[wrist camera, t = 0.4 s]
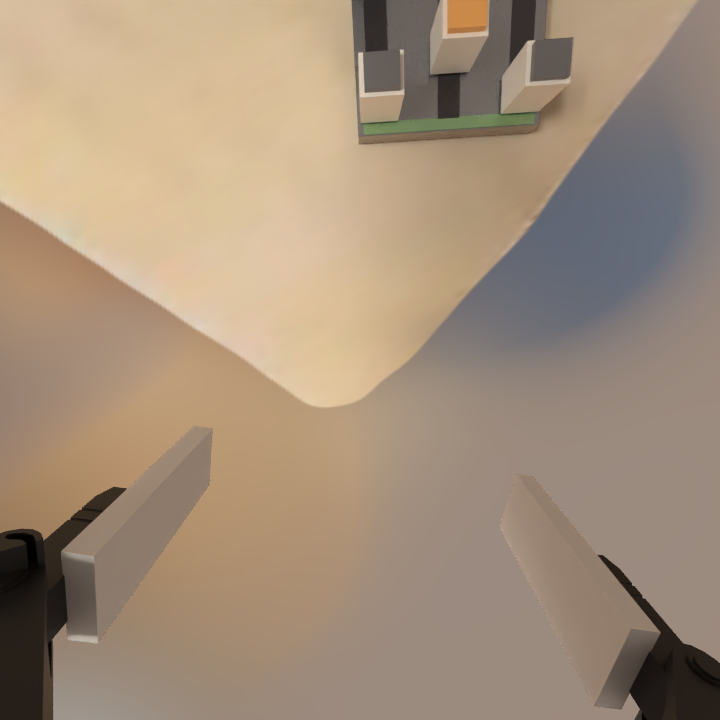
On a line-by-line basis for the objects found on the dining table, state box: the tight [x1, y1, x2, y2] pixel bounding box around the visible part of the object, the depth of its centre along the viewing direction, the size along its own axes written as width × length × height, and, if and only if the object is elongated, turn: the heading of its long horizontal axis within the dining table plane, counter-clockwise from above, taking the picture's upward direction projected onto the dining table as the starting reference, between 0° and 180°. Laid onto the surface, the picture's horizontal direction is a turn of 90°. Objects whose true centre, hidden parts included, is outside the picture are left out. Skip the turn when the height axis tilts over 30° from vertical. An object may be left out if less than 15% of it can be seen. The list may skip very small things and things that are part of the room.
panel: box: [352, 0, 547, 144], centre depth 32 cm, size 12×17×2 cm
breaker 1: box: [358, 49, 404, 123], centre depth 29 cm, size 3×4×6 cm
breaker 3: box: [501, 37, 574, 114], centre depth 29 cm, size 3×4×6 cm
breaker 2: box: [430, 0, 490, 75], centre depth 28 cm, size 3×4×6 cm
